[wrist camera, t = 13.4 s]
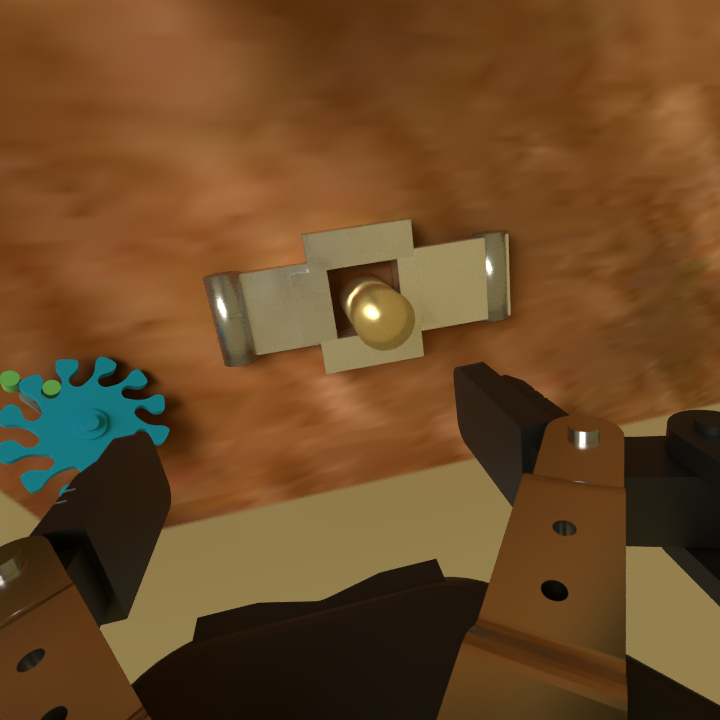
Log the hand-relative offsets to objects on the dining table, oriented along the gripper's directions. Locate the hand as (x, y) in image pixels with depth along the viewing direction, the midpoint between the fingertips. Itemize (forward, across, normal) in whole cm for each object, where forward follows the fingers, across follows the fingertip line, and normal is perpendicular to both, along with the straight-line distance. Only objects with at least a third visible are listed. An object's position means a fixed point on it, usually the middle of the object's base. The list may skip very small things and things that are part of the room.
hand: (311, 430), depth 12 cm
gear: (+23, +16, +6) cm, 29 cm away
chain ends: (+23, -5, +2) cm, 24 cm away
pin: (+23, -5, +2) cm, 24 cm away
